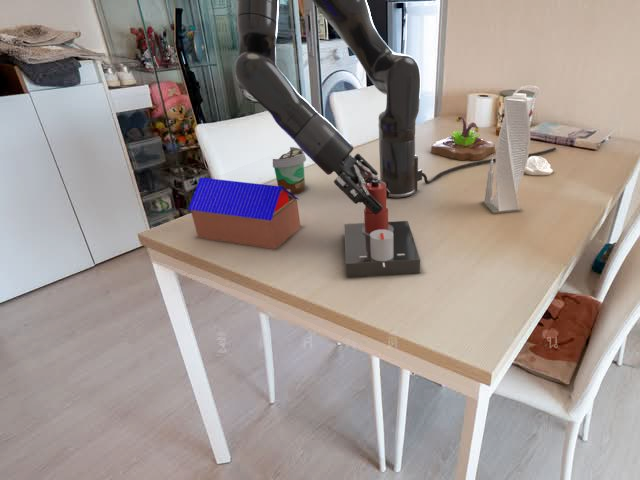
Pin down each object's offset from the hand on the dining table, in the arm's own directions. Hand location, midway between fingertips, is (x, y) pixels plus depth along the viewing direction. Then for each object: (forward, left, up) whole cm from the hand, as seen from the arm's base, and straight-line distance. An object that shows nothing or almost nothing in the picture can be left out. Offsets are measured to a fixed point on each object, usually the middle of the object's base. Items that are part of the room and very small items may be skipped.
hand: (383, 203), depth 94 cm
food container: (0, -41, -9) cm, 42 cm away
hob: (+4, +4, -9) cm, 11 cm away
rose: (-65, -12, -9) cm, 66 cm away
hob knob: (+7, +9, -6) cm, 13 cm away
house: (+21, -23, -9) cm, 32 cm away
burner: (+1, -1, -6) cm, 6 cm away
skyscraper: (-36, +2, -9) cm, 37 cm away
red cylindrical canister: (+1, -1, -6) cm, 6 cm away
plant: (-62, -41, -9) cm, 75 cm away
